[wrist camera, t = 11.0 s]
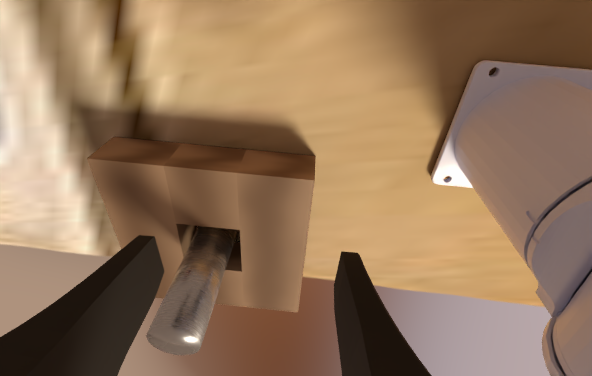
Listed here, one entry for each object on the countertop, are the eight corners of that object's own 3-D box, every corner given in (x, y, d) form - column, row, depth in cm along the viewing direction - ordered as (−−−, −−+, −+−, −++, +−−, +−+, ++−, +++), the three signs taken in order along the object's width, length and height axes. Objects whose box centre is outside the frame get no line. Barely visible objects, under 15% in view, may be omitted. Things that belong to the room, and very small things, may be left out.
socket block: (315, 155, 21) (314, 180, 18) (299, 283, 29) (297, 312, 27) (114, 136, 21) (86, 158, 19) (154, 268, 29) (139, 295, 27)
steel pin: (239, 209, 24) (197, 330, 16) (240, 236, 26) (203, 357, 18) (201, 205, 24) (141, 324, 16) (205, 232, 26) (152, 352, 18)
